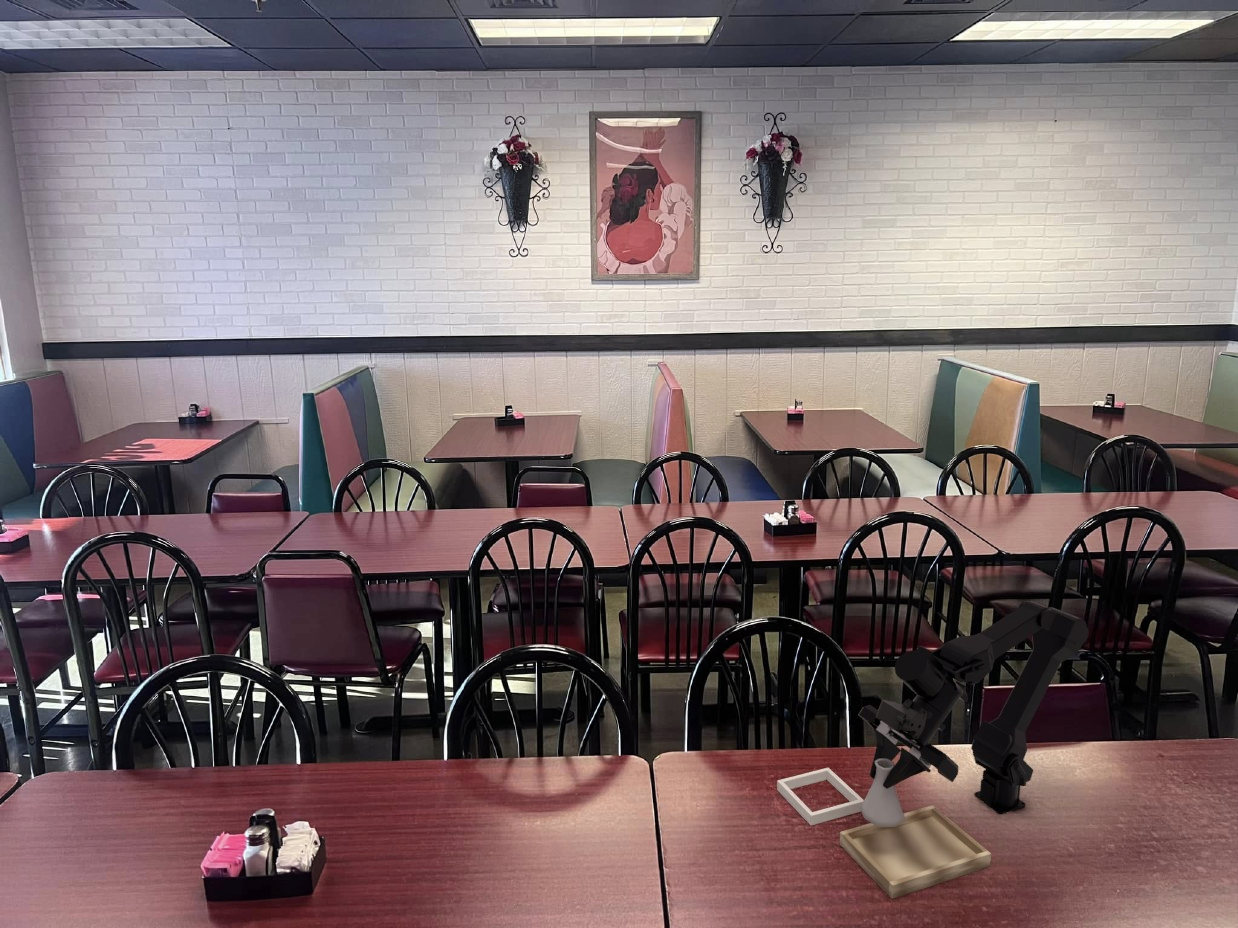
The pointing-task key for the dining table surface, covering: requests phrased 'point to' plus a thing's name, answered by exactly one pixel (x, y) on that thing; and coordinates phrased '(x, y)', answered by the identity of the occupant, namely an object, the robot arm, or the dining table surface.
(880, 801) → the flask
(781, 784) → the white square frame
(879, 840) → the serving tray
